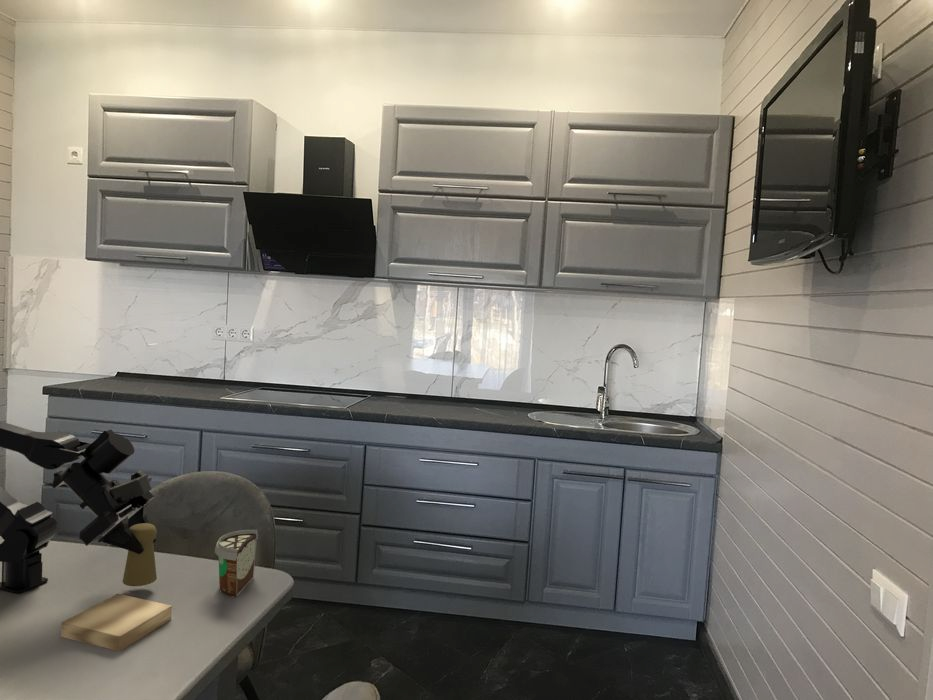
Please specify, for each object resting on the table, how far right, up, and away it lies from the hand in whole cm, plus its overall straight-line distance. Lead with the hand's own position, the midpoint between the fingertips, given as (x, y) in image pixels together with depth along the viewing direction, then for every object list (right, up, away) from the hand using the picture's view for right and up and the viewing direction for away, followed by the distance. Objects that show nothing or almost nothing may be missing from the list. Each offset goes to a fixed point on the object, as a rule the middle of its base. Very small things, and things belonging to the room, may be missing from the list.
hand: (148, 547), depth 128 cm
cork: (-2, -7, 0) cm, 7 cm away
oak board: (+1, -10, -14) cm, 17 cm away
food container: (+14, -10, +5) cm, 18 cm away
